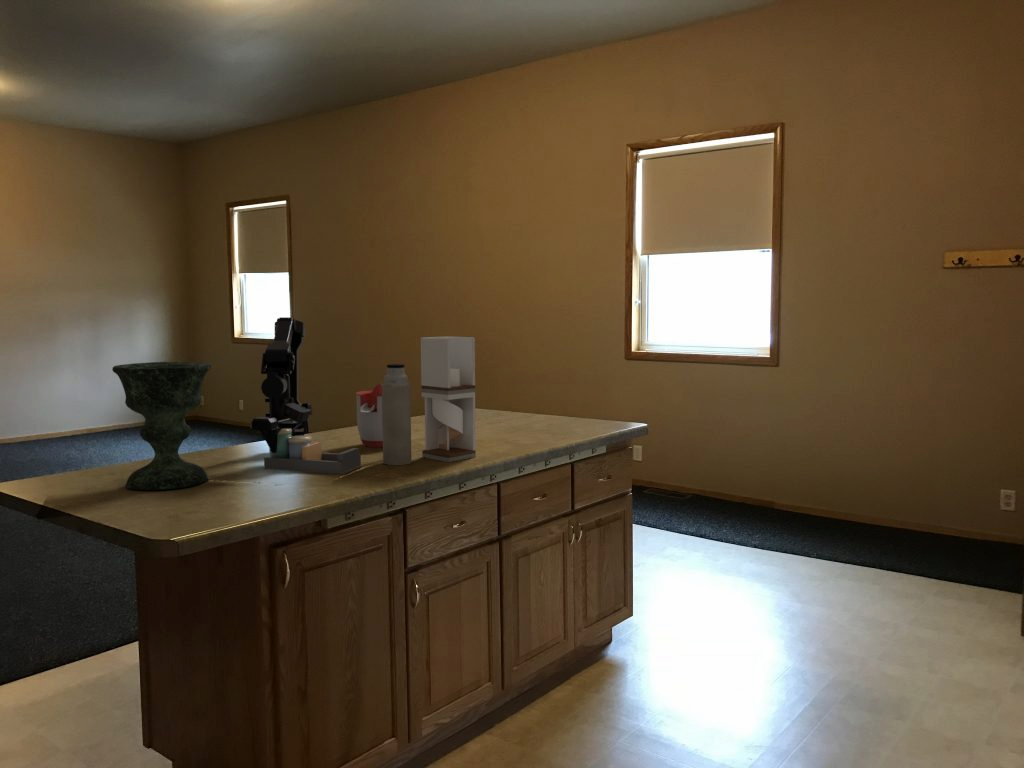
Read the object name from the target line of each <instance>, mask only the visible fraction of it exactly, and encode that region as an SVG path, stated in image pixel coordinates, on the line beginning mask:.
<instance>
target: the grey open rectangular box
mask: <svg viewBox="0 0 1024 768" xmlns="http://www.w3.org/2000/svg"><path fill="white" fill-rule="evenodd" d="M361 456H362V455H361V454H360V449H359V447H353V448H350V449H347V450H343V451H341V452H339V453H335V452H334V453H333V452H322V460H307V459H290V458H274V457H270V456H265V457H263V466H264V467H263V468H264V470H275V471H277V470H278V471H290V472H293V471H294V472H307V473H322V474H323V473H324V474H339V475H340V476H342V475H344V476H346V475H345V474H347V473H349V474H351V473H353V472H352V471H354V472H356V471H358V470H357V469H359V470H360V468H361V466H362V462H361V461H362V459H361V458H362V457H361ZM355 470H356V471H355ZM350 472H351V473H350ZM347 475H348V474H347ZM342 477H343V476H342Z"/></svg>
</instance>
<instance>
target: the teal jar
mask: <svg viewBox="0 0 1024 768" xmlns="http://www.w3.org/2000/svg"><path fill="white" fill-rule="evenodd" d="M291 433H292V429H291V428H282V429H281V430H280V432H279V433H278V435H277V450H276V453H272V452H271V450H270V448H269V447H268V448H269V457H274V458H289V442H288V437H291V436H292V435H291Z"/></svg>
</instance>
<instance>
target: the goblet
mask: <svg viewBox="0 0 1024 768" xmlns="http://www.w3.org/2000/svg"><path fill="white" fill-rule="evenodd" d="M210 370H212V365H211V364H210V363H208V362H205V361H160V362H159V361H155V362H154V361H153V362H138V363H137V362H136V363H126V364H119V365H118V364H117V365H114V366H113V367H112V372H113V373H114V374H116V375H117V377H118V379H119V381H120V383H121V385H122V387H123V391H124V394H125V395H124V396H125V401H124V403H125V405H126V407H127V408H128V409H130V410H131V411H132V412H135V413H137V414H139V415H141V416H142V417H143V418H144V424H143V426H142V428H140V429H139V436H140V438H141V440H143V441H145V442H147V443H148V444H149V445H150V446H151V448H152V449H153V452H154V457H153V458H152V460H151V461H150V462H149V463H147V464H146V465H144V466H141V467H140V468H137V469H136V470H134V471H133V472H132V473H131V474H130V475H129V476H128V478H127V480H126V483H125V488H127V489H129V490H135V491H164V490H173V489H182V488H187V487H192V486H193V487H194V486H196V485H200V484H202V483H204V482H206V481H208V480H209V476H208V474H207V472H206V471H205V469H204V468H203V467H202V466H200V465H198V464H195V463H193V462H192V463H191V462H189V461H185V460H184V459H182V458H181V457H180V455H179V454H180V453H179V450H180V447H181V445H182V443H183V441H184V440H186V439H187V438H189V437H190V434H191V432H192V429H191V426H190V425H188V424H187V423H186V420H185V419H186V415H187V414H188V413H190V412H191V411H192V410H195V409H196V408H197V407H198V406H199V405H200V404H201V403H202V400H203V398H202V395H201V394H202V388H203V383H204V380H205V377H206V375H207V373H208V372H209V371H210Z"/></svg>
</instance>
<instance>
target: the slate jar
mask: <svg viewBox="0 0 1024 768" xmlns="http://www.w3.org/2000/svg"><path fill="white" fill-rule="evenodd" d="M312 439H313V437H312V436H311V435H304V436H291V437H288V442H289V458H290V459H302V447H303V446H306V445H310V444H312V441H313V440H312Z"/></svg>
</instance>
